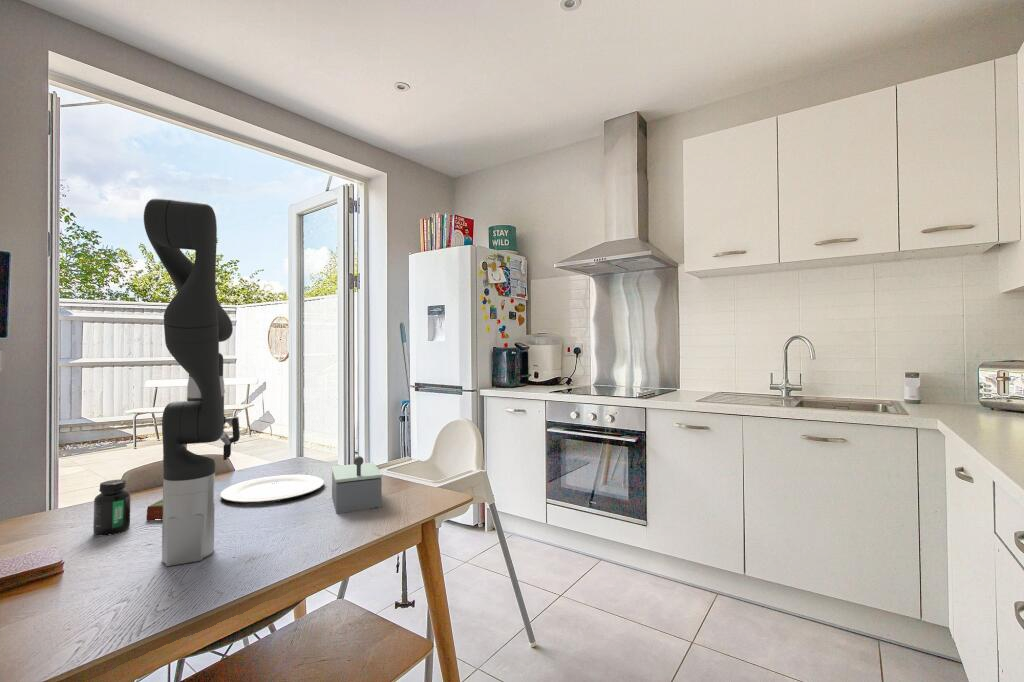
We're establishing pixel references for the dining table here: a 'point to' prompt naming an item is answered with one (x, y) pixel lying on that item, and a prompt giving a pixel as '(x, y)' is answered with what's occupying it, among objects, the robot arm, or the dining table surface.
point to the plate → (272, 488)
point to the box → (356, 494)
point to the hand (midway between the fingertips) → (205, 461)
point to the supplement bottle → (112, 508)
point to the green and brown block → (155, 511)
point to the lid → (356, 471)
